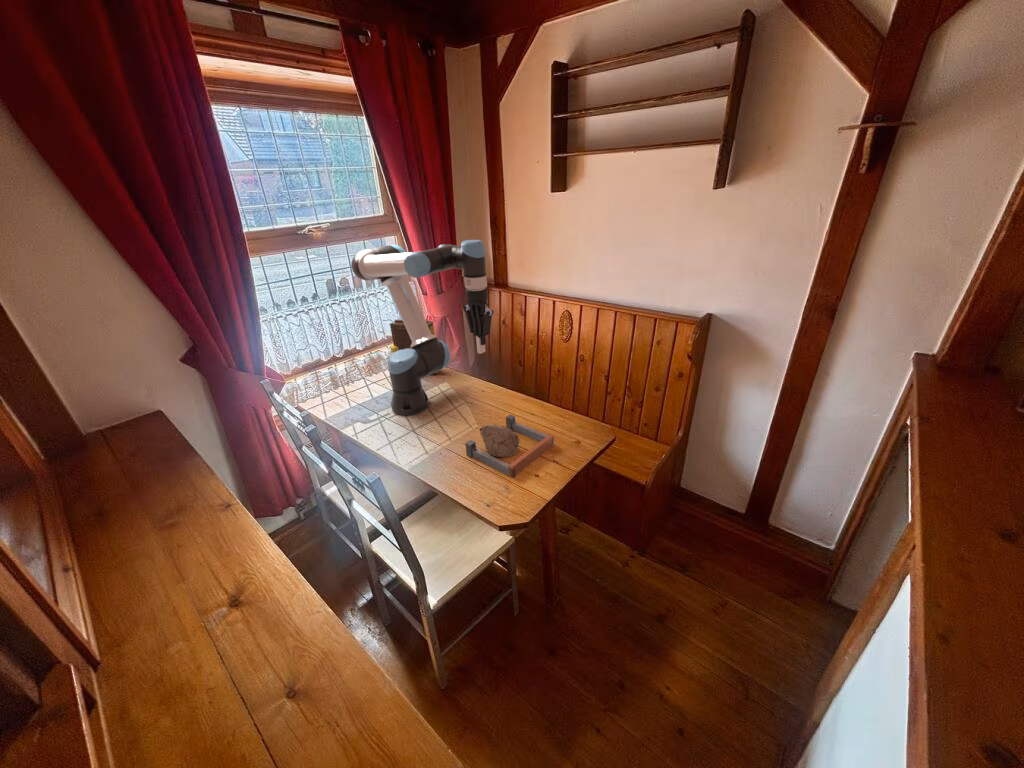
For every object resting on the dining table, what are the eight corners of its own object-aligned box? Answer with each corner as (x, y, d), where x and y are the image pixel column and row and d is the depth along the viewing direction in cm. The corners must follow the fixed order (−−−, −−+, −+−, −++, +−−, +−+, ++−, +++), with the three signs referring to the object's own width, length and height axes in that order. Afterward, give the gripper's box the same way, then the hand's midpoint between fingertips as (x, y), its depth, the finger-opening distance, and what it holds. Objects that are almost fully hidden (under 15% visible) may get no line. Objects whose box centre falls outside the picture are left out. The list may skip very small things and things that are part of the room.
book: (441, 369, 206) (435, 320, 195) (434, 376, 199) (427, 326, 188) (400, 366, 211) (391, 318, 200) (392, 374, 204) (382, 324, 193)
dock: (466, 455, 143) (465, 442, 141) (510, 425, 158) (510, 414, 156) (511, 478, 131) (510, 465, 129) (554, 444, 147) (554, 432, 144)
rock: (517, 423, 148) (522, 428, 140) (514, 452, 149) (519, 458, 141) (478, 420, 145) (481, 425, 137) (475, 450, 146) (478, 456, 138)
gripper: (455, 288, 145) (461, 351, 156) (482, 293, 137) (487, 359, 148) (470, 283, 150) (476, 345, 161) (497, 288, 142) (501, 353, 153)
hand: (481, 352), depth 154 cm, fingers closed
